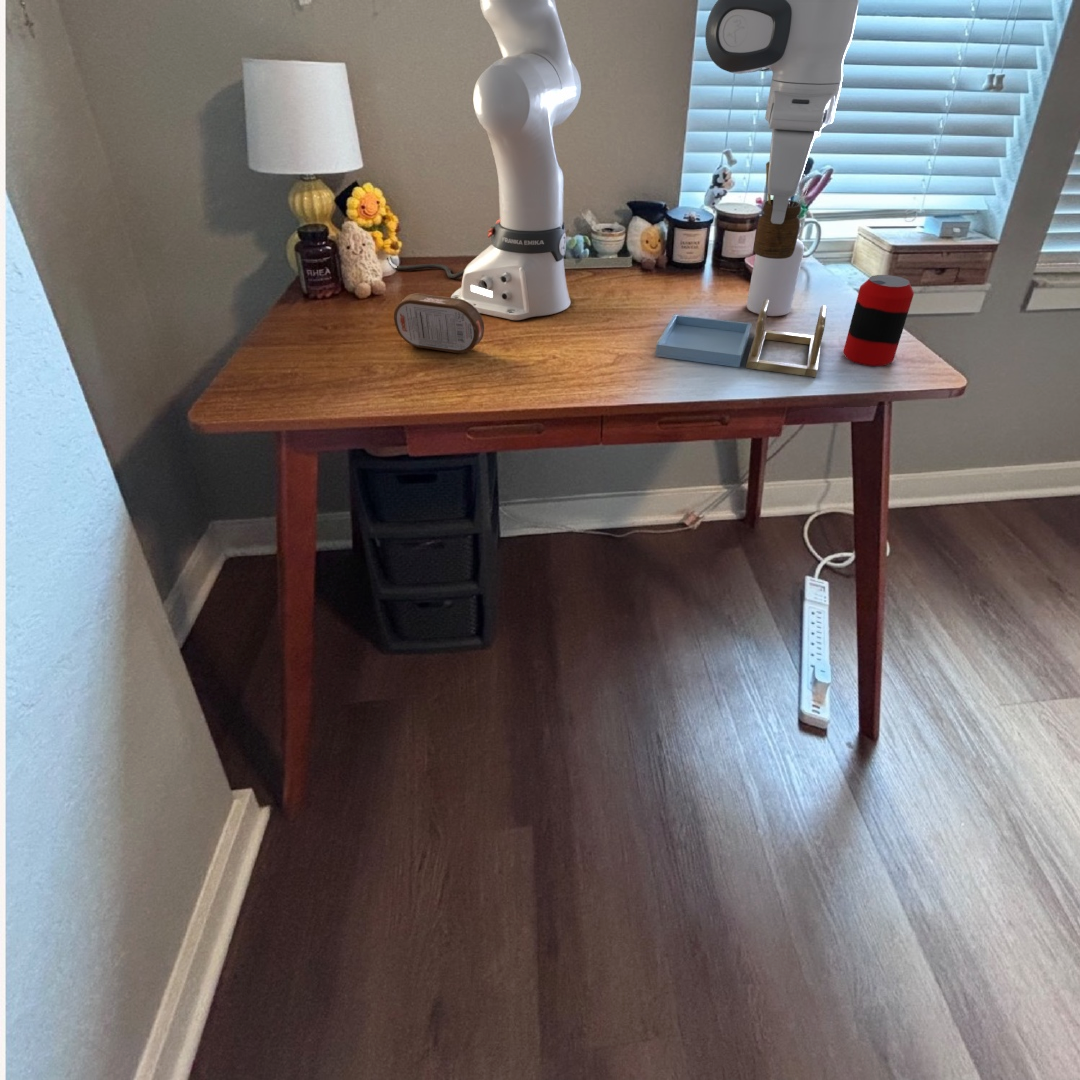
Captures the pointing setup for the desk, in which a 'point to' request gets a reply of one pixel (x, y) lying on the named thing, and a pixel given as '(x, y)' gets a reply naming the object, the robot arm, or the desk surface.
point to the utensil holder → (778, 229)
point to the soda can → (878, 320)
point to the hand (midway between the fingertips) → (779, 217)
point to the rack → (763, 334)
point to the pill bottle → (775, 282)
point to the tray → (704, 340)
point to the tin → (439, 323)
